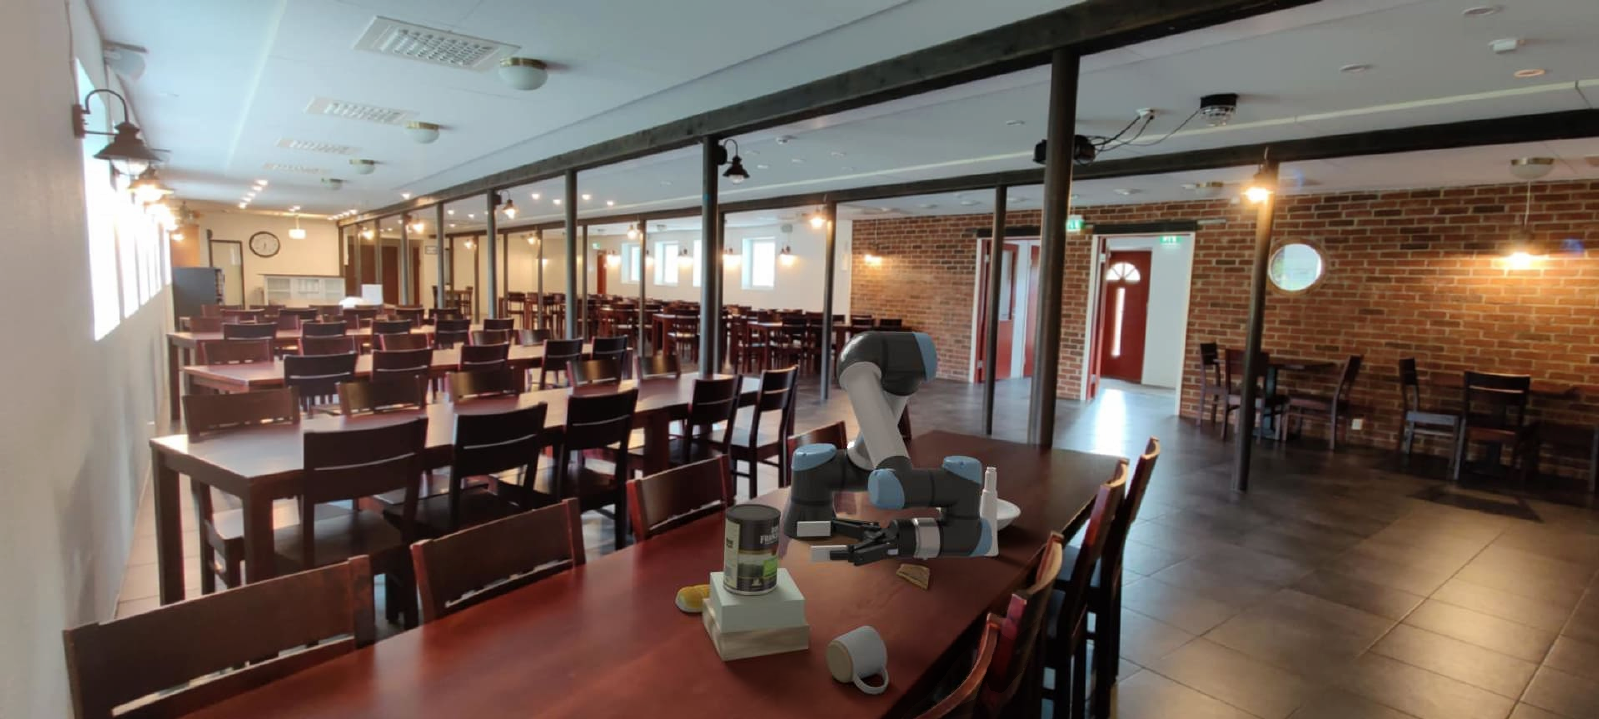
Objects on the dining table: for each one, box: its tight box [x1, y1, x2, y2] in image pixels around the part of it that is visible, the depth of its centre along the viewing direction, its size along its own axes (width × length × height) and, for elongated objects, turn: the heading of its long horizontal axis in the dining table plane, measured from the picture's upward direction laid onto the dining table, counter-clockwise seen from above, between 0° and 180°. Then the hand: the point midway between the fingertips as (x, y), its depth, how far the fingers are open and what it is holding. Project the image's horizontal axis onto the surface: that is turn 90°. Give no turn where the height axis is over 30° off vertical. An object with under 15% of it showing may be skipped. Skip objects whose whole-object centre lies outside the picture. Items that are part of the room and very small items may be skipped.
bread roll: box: [675, 584, 710, 613], centre depth 148 cm, size 8×9×4 cm
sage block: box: [709, 567, 806, 633], centre depth 136 cm, size 15×15×5 cm
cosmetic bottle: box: [980, 466, 999, 557], centre depth 184 cm, size 6×6×22 cm
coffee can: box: [723, 503, 782, 595], centre depth 135 cm, size 10×10×14 cm
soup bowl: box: [935, 495, 1021, 532], centre depth 203 cm, size 24×24×7 cm
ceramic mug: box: [825, 625, 889, 695], centre depth 121 cm, size 11×8×8 cm
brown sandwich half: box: [895, 563, 931, 590], centre depth 166 cm, size 11×8×2 cm
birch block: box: [701, 598, 810, 662], centre depth 136 cm, size 16×16×5 cm
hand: (803, 541), depth 136 cm, fingers open, 13 cm apart
